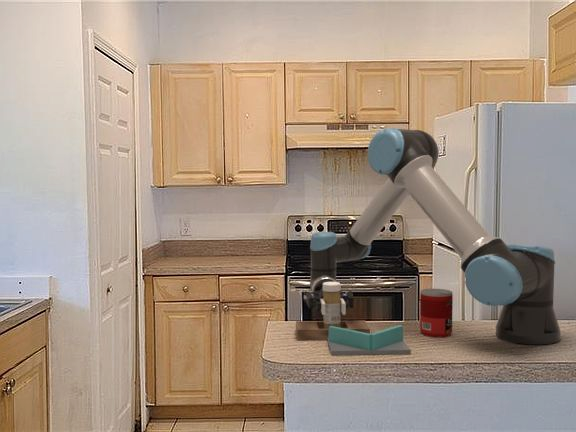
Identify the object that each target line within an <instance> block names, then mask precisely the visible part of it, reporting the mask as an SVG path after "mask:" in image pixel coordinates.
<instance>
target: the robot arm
mask: <svg viewBox="0 0 576 432" xmlns="http://www.w3.org/2000/svg"><path fill="white" fill-rule="evenodd" d="M367 147H368V148H367V150H368V152H367V161H368V164H369V167H370V168H371V169H372V170H373V172H375V173H377V174H379V175H381V176H385V175H386V176H387V177H388V178H387V179H386V181H385V182H384V183H383V185H382V186H381V188H380V189H379V190H378V191H377V193H376V195H374V197H373V198H372V200H371V201H369V203H368V205H367V207H366V208H365V209H364V210H363V212H362V213H361V214H360V216H359V217H358V218H357V220H356V221H355V223H354V224H353V225H352V227H351V228H350V229H348V230H349V231H347V233H346V234H345V236H339V237H337V235H336V232H333V231H331V232H330V231H319V232H318V231H317V232H313V233H312V234H311V236H310V245H309V249H310V280H309V287H310V291H311V292H309V291H306V290H305V291H304V292H303V302H305V303H306V304H307V307H308V309H313V308H314V307H315V312H321V314H322V316H323V315H325V302H324V299H323V283H325V282H337V263H343V262H349V261H350V262H351V261H359V260H361V259H364V258H367V257H368V256H369V255H370V253H371V249H372V242H373V241H374V240H375V239H376V237H377V236H378V235H379V233H380V232H381V231H382V229H384V227H385V226H386V224H388V222H389V221H390V220H391V218H392V217H393V216H394V215H395V213H396V212H397V211H398V209H400V207H401V206H402V204H403V203H404V202H405V201H406V199H407V198H408V197H409V195H410V196H411V198H412V199H413V200H414V201H415V202H416V203H417V205H418V206H419V208H420V209H421V210H422V212H424V214H425V215H426V217H428V219H429V220H430V221H431V223H432V224H433V225H434V226H435V227H436V228H437V230H438V231H439V233H440V234H441V236H442V237H444V239H445V240H446V241H447V242H448V244H449V245H450V246H451V247H452V249H453V250H454V251H455V252H456V254H457V255H458V257H459V258H460V259H461V261H460V266H459V267H460V268H461V271H463V273H464V278H465V281H464V284H465V287H466V289H467V291H468V292H469V294H470V295H471V296H472V298H474V299H475V300H476V301H478V302H479V303H481V304H483V305H486V306H489V307H490V306H491V307H495V306H496V307H497V306H498V307H499V306H502V308H501V310H500V313H499V316H498V319H497V321H496V326H495V337H497V338H498V339H500V340H503V341H506V342H510V343H517V344H523V345H550V344H552V345H553V344H555V343H558V342H560V341H561V329H560V326H559V322H558V319H557V315H556V312H555V309H554V291H555V290H554V289H555V287H554V286H555V264H556V260H555V252H554V250H553V249H552V248H551V247H549V246H537V245H529V244H518V243H517V244H513V243H507V244H506V243H505V242H504V240H502V238H501V237H498V236H491V235H490V234H489V233H488V232H487V231H486V229H484V227H483V226H482V224H480V223H479V221H478V220H477V218H475V217H474V215H473V214H472V213H471V212H470V211H469V209H468V208H467V206H465V204H464V203H462V201H461V200H460V199H459V197H457V195H456V194H455V193H454V192H453V190H452V189H451V188H450V187H449V186H448V185H447V183H446V182H445V181H444V180H443V179H442V178H441V176H440V174H438V173H437V171H435V169H434V168H435V167H436V165H437V162H438V158H439V147H438V144H437V141H436V140H435V138H433V136H432V135H431V134H429V133H428V132H425V131H423V130H421V129H420V130H419V129H405V128H404V129H403V128H396V127H390V128H384V129H381V130H379V131H377V132H376V133H375V134H374V135H373V137H372V138H371V139H370V142H369V144H368V146H367ZM353 293H354V292H353V291H352V290H349V291H345V293H344V292H343V291H342V290H340V311H341V314H342V315H343V316H345V315H347V314H346V313H347V311H346V310H349V308H350V309H353V308H354V307H355V305H354V304H355V301H354V300H355V299H354V295H353Z"/></svg>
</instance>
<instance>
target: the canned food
mask: <svg viewBox="0 0 576 432" xmlns="http://www.w3.org/2000/svg"><path fill="white" fill-rule="evenodd" d="M453 295H454V294H453V291H451V290H449V289H446V288H445V289H443V288H424V289H421V290H420V299H419V301H420V305H419V306H420V309H419V312H420V314H419V315H420V316H419V317H420V318H419V319H420V320H419V321H420V325H419V326H420V327H419V330H420V333H421V334H422V335H423V336H426V337H429V338H430V337H431V338H447V337H450V336H451V335H452V333H453V308H454V307H453V305H454V304H453V300H454V297H453Z"/></svg>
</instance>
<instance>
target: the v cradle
mask: <svg viewBox="0 0 576 432" xmlns="http://www.w3.org/2000/svg"><path fill="white" fill-rule="evenodd" d="M326 341H327V344H328V348H329V351H330V354H331V356H380V355H381V356H384V355H385V356H386V355H388V356H390V355H411V354H412V350H411V348H410V347H409V346H408V344H407V343H406V342H405V340H404V325H400V324H398V325H394V326H391V327H388V328H385V329H381V330H378V331H375V332H372V333H371V332H370V334H369V333H364V332H359V331H354V330H349V329H344V328H340V327H335V326H329V338H327V340H326Z"/></svg>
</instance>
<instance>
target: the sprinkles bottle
mask: <svg viewBox="0 0 576 432" xmlns="http://www.w3.org/2000/svg"><path fill="white" fill-rule="evenodd" d="M341 286H342V284H341V283H340V282H338V281H336V282H325V283H323V299H324V302H325V315H322V316H323V317H322V318H323V319H322V321H324V329H329V326H335V327H340V328H341V326H340V321H342V320H341V318H342V317H341V314H342V312H341V310H340V291H342V289H341Z"/></svg>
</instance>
